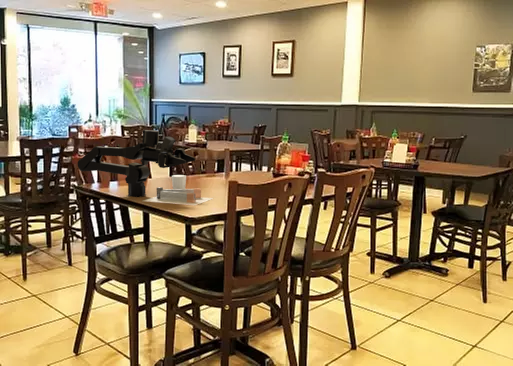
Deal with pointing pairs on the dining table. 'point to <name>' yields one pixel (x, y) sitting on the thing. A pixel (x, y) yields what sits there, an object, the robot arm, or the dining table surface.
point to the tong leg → (194, 190)
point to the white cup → (178, 181)
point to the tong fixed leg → (178, 196)
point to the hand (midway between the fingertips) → (190, 160)
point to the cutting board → (198, 201)
